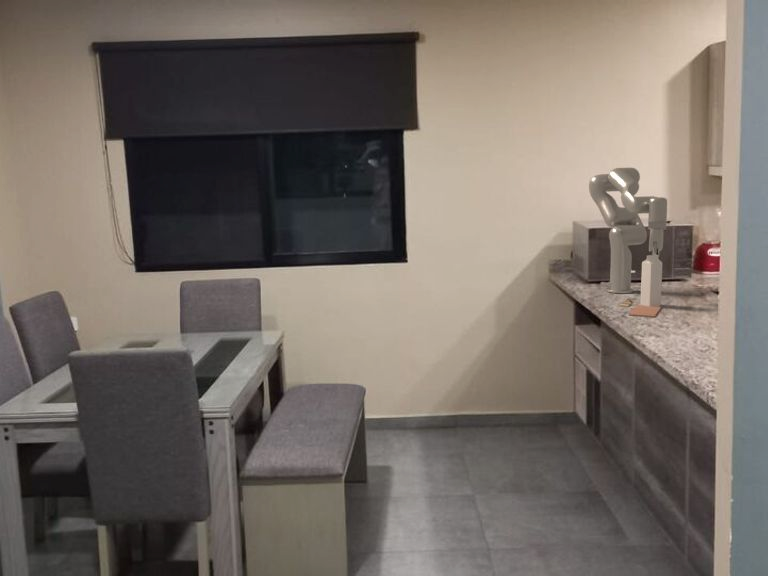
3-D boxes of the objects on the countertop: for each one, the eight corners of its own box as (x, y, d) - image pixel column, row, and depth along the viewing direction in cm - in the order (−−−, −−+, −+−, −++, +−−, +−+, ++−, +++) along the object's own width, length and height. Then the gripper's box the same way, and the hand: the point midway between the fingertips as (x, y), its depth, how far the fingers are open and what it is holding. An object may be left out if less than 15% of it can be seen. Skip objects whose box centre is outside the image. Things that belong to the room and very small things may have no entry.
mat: (628, 315, 308) (628, 314, 307) (636, 306, 325) (636, 305, 325) (654, 317, 303) (654, 315, 303) (661, 308, 321) (661, 306, 320)
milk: (640, 305, 329) (641, 254, 325) (651, 303, 331) (653, 253, 327) (649, 307, 323) (651, 256, 320) (661, 306, 325) (662, 255, 322)
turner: (628, 307, 325) (628, 305, 325) (619, 306, 326) (619, 304, 326) (633, 301, 338) (633, 298, 338) (625, 300, 339) (625, 298, 339)
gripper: (650, 224, 340) (649, 264, 343) (646, 227, 326) (644, 269, 329) (668, 224, 336) (666, 265, 339) (664, 227, 323) (662, 269, 326)
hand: (655, 267), depth 334 cm, fingers closed
